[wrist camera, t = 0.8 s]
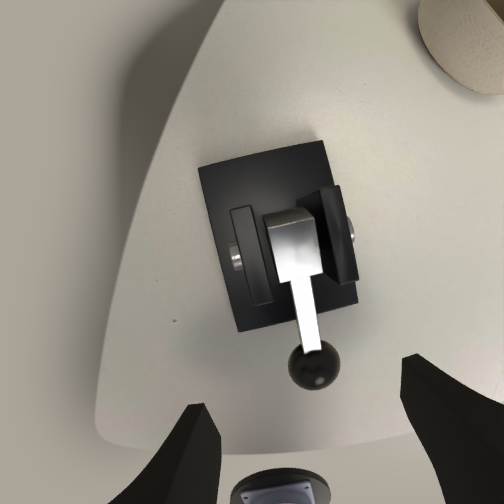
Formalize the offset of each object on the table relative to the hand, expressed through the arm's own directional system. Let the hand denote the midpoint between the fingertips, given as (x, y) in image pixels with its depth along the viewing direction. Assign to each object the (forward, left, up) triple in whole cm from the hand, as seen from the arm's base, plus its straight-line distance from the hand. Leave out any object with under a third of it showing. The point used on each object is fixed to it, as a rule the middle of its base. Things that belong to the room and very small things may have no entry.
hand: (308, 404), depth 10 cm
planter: (+19, -23, -14) cm, 33 cm away
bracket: (+5, -1, -13) cm, 14 cm away
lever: (+2, -1, -9) cm, 9 cm away
